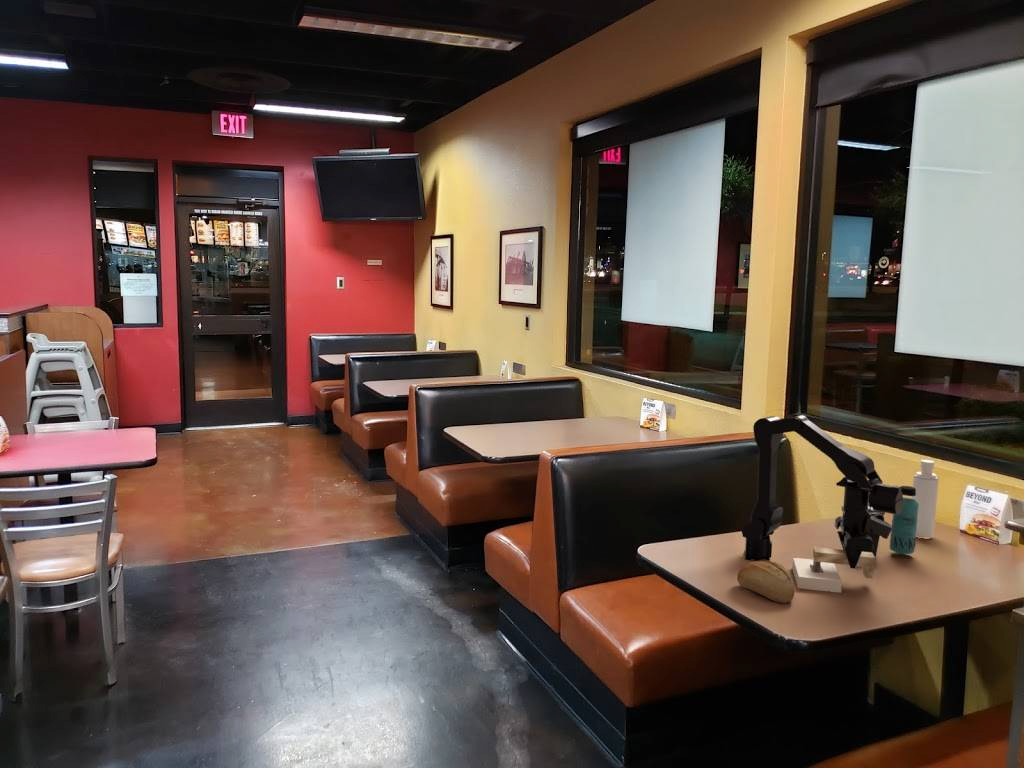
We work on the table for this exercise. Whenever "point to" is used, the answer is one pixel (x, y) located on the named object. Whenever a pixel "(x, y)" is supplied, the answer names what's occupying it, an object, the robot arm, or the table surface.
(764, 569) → the bread roll
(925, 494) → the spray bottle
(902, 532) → the beverage bottle
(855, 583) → the table surface
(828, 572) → the white slotted block
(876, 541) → the drinking cup
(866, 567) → the tan elongated block
